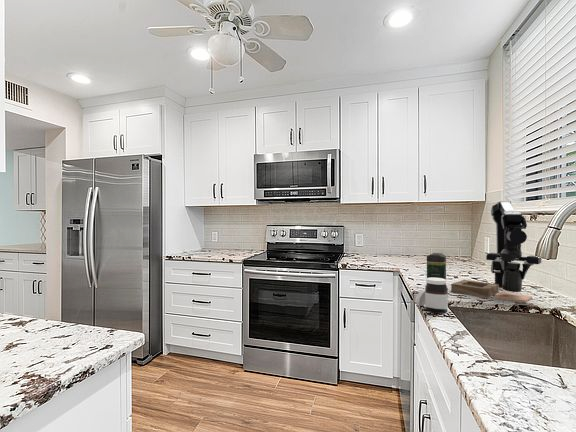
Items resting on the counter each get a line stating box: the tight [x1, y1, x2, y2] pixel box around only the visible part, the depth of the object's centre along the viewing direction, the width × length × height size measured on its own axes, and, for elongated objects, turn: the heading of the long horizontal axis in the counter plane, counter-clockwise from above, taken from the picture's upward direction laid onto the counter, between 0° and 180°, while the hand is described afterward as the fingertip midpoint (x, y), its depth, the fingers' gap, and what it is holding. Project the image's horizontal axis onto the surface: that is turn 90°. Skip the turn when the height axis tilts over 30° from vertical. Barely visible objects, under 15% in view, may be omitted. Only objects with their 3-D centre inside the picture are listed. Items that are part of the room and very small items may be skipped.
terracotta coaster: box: [493, 291, 533, 303], centre depth 137 cm, size 11×11×1 cm
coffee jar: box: [426, 252, 447, 280], centre depth 145 cm, size 10×8×19 cm
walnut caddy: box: [450, 279, 500, 298], centre depth 148 cm, size 15×15×4 cm
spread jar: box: [415, 277, 449, 314], centre depth 122 cm, size 12×11×12 cm
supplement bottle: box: [501, 261, 523, 293], centre depth 137 cm, size 7×7×12 cm
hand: (512, 278), depth 137 cm, fingers closed on supplement bottle, 7 cm apart
